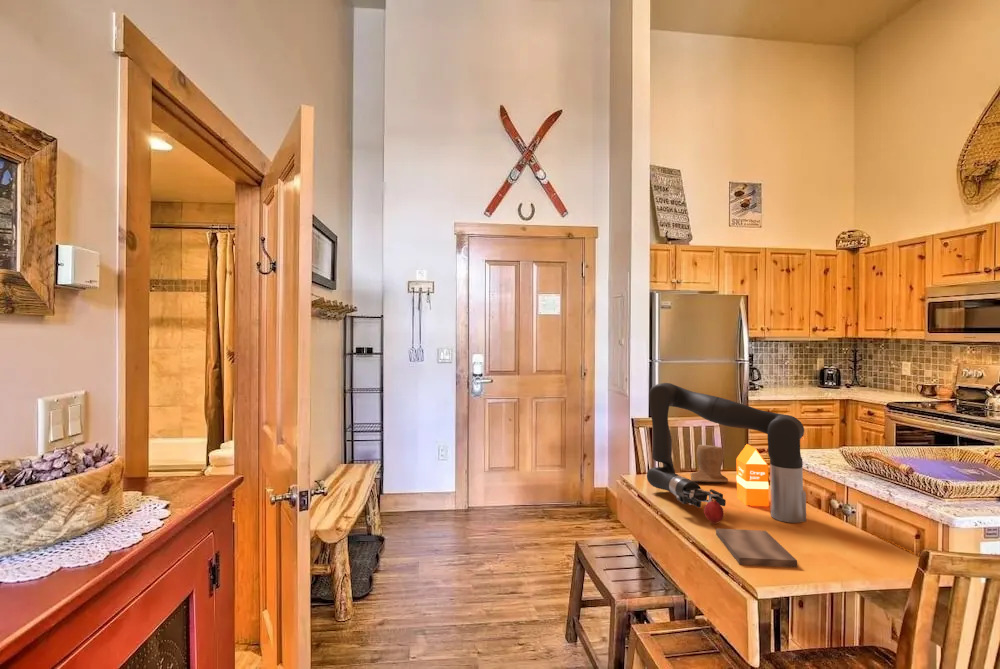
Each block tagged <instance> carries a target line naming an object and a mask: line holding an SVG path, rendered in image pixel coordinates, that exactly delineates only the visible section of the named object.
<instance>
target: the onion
mask: <svg viewBox="0 0 1000 669" xmlns="http://www.w3.org/2000/svg"><path fill="white" fill-rule="evenodd" d="M703 513H704V516H705V519H707V520H708V521H709V522H711V524H712V525H716V524H719V523H720V522H721V521H722V520H723V519H724V516H725V513H724V508H723V506H721V505H720V504H719V503H718V502H716V500H715V499H713V498H712V499H711V502H709V503H708V502H706V504H705V506H704V507H703Z"/></svg>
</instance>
